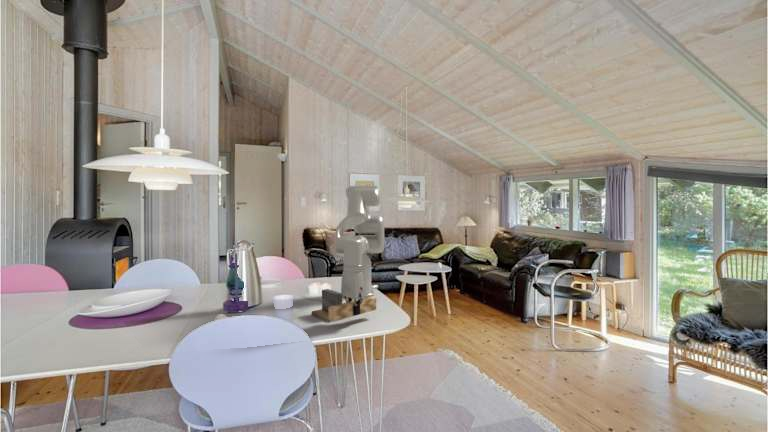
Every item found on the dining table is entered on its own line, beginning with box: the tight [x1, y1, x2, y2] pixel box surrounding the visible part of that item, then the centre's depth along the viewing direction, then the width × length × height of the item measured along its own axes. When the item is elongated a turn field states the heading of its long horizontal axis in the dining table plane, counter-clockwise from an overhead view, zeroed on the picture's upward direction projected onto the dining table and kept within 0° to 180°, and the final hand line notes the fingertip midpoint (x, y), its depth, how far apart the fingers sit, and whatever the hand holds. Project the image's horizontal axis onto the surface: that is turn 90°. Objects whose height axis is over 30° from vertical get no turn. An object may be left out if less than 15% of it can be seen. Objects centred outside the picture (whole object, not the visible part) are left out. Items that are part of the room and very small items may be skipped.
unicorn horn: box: [214, 313, 228, 321], centre depth 146 cm, size 5×24×5 cm, turn 47°
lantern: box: [222, 244, 249, 313], centre depth 174 cm, size 13×12×30 cm
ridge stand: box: [311, 288, 343, 323], centre depth 166 cm, size 12×14×10 cm
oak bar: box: [328, 296, 377, 323], centre depth 155 cm, size 22×4×5 cm, turn 133°
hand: (353, 313), depth 156 cm, fingers closed on oak bar, 3 cm apart
